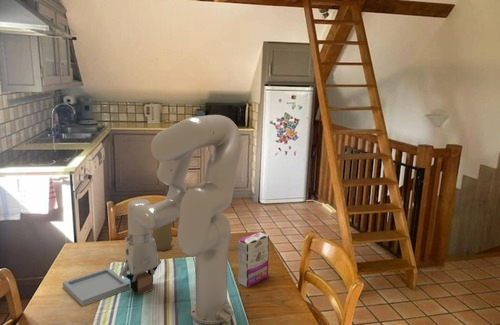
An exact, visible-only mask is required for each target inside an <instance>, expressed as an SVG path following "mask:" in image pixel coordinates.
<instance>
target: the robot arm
mask: <svg viewBox="0 0 500 325" xmlns="http://www.w3.org/2000/svg"><path fill="white" fill-rule="evenodd" d="M150 144H151V145H150V151H151V154H152V156H153V158H154V159H155V160H157V161H159V166H158V169H157V171H156V177H157V178H158V180H159V181H160V182H162V183H163V184H164V185H167V186H169V188H168V192H167V194H166V196H165V198H164V200H161V201H158V202H155V203H153V204H152V203H151V202H150V200H148V199H145V198H144V199H143V198H138V199H137V198H136V199H132V200H130V201H129V202H128V203H127V211H126V212H127V228H128V231H127V236H125V237H124V241H125V242H127V243H126V247H125V254H124V266H123V268H122V269H121V271H120V272H119V274H120V275H121V277H124V278H126V279H128V280H129V283H130V290H131V291H133V292H134V293H136V292H137V291H138V288H137V281H136V277H137V274H138V273H141V272H144V271H146V272H147V273H149V274H150V275H152V284H153V285H154V275H155V272H156V270H157V269H158V267H159V266H160V264H162V260H161V259H160V258H159V256H158V250H157V247H156V243H155V239H154V238H153V231H154V230H155V229H157V228H160V227H162V226H164V225H166V224H168V223H170V224H171V223H173V222H175V221H176V220H177V219H178V224H177V226H178V227H177V232H176V233H177V235H176V236H177V238H176V239H177V240H176V241H177V244H178V247H179V250H180V251H181V252H182V253H183V254H185V255H186V256H188V257H192V258H193V257H195V266H194V267H195V272H194V273H195V278H194V279H195V303H194V304H192V306H191V308H190V317H191V318H192V319H193V320H194V321H195V322H196V323H199V324H203V325H217V324H221V323H224V322H226V323H229V322H231V320H232V316H234V314H235V312H234V311H233V307H232V305H231V304H230V302H229V301H228V265H229V264H228V262H229V261H228V260H229V259H228V258H229V246H230V240H231V233H232V226H231V223H230V220H229V218H228V217H227V215H226V214H224V213H222V212H223V211H225V210H227V209H228V208H229V207H230V206H231V204H232V202H233V195H234V189H235V184H236V179H237V173H238V166H239V161H240V157H241V152H242V144H243V142H242V136H241V132H240V130H239V128H238V126H237V124H235V122H234V121H233V120H232V119H231V118H229V117H227V116H225V115H221V114H207V115H198V116H191V117H186V118H185V119H182V120H181V121H179V122H177V123H175V124H174V125H171V126H169V127H167V128H165V129H163V130H161V131H159V132H158V133H157V134H156V135H155V136H154V137H153V139H152V141H151V143H150ZM209 147H213V149H212V152H211V154H210V155H209V157H208V161H207V164H206V169H205V170H206V171H205V176H204V179H203V181H202V182H199V183H197V184H194V185H192V186H191V187H189V188H188V189H187V186H186V185H187V184H186V183H185V179H186V177H187V174H188V172H189V168H190V167H191V166H190V165H191V162H192V160H193V158H194V155H195V152H196V151H197V150H199V149H205V148H209ZM128 271H129V273H127V272H128ZM120 275H119V276H120Z"/></svg>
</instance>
